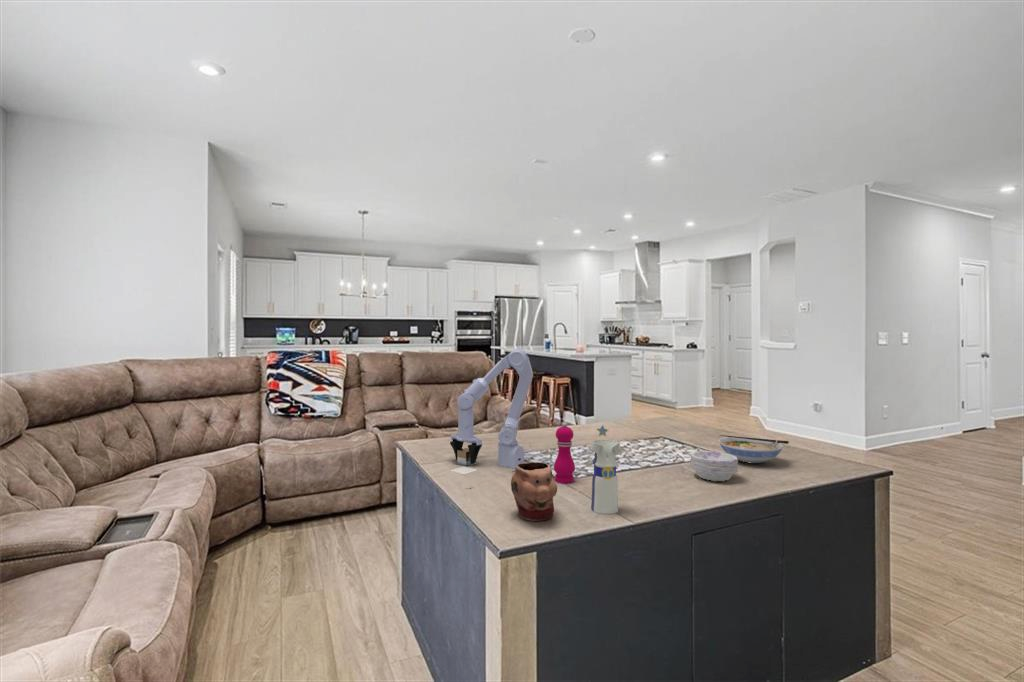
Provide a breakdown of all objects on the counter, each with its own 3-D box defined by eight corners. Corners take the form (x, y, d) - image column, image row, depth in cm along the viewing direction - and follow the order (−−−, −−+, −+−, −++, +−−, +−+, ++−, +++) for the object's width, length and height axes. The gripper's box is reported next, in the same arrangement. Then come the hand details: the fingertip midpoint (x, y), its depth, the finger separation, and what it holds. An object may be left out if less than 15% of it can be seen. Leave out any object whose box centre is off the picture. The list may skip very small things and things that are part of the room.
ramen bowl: (709, 463, 193) (709, 442, 193) (722, 451, 212) (722, 431, 211) (782, 474, 178) (782, 451, 178) (789, 460, 197) (789, 439, 197)
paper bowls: (718, 470, 183) (718, 448, 183) (747, 482, 168) (747, 459, 168) (681, 473, 179) (681, 451, 179) (707, 486, 164) (708, 462, 164)
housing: (474, 463, 187) (474, 449, 187) (465, 465, 184) (465, 452, 184) (465, 460, 190) (465, 447, 190) (457, 463, 187) (457, 450, 187)
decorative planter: (499, 504, 147) (499, 457, 146) (537, 499, 151) (537, 453, 151) (527, 530, 128) (528, 476, 128) (569, 523, 133) (569, 471, 132)
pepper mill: (576, 478, 172) (577, 420, 172) (572, 484, 165) (572, 424, 165) (556, 476, 175) (556, 419, 174) (551, 482, 168) (551, 423, 167)
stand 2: (477, 473, 178) (477, 469, 178) (464, 477, 173) (464, 474, 173) (464, 469, 183) (464, 466, 183) (450, 473, 177) (450, 470, 177)
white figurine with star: (624, 514, 139) (625, 425, 139) (594, 515, 139) (594, 425, 138) (616, 503, 148) (616, 419, 147) (587, 504, 147) (588, 419, 146)
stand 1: (479, 466, 188) (479, 462, 188) (465, 470, 182) (465, 466, 182) (465, 462, 192) (465, 459, 192) (452, 466, 187) (452, 463, 187)
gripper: (444, 424, 188) (444, 460, 189) (472, 429, 179) (472, 467, 179) (458, 421, 194) (458, 456, 194) (485, 426, 184) (485, 462, 185)
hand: (465, 461), depth 187 cm, fingers open, 7 cm apart
